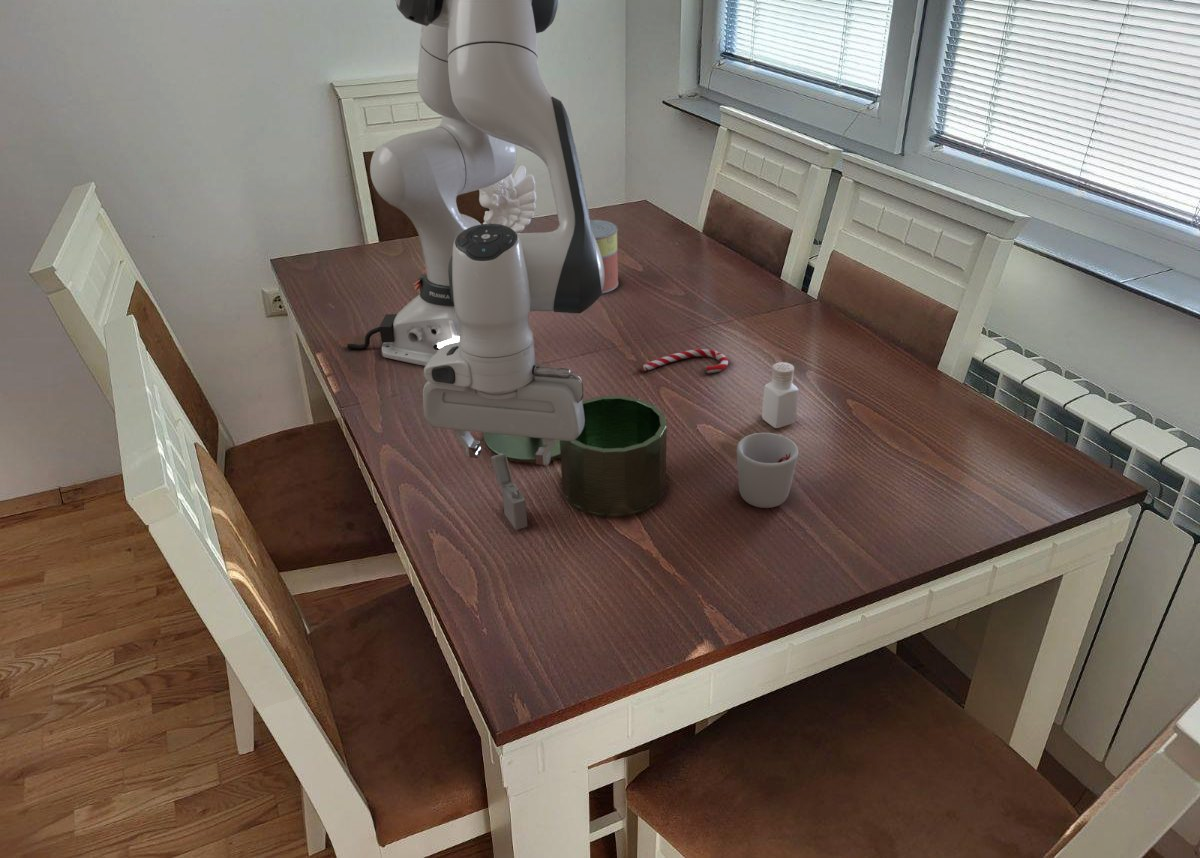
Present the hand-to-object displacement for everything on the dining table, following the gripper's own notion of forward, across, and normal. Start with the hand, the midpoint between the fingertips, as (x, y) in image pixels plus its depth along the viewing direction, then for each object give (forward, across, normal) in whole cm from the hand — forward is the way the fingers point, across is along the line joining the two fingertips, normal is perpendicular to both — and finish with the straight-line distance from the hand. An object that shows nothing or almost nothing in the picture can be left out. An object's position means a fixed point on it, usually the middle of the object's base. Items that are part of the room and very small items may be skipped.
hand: (508, 459), depth 114 cm
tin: (+9, -12, -9) cm, 17 cm away
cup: (+9, -32, -12) cm, 35 cm away
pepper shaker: (+9, -33, -31) cm, 46 cm away
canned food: (+9, +9, -79) cm, 80 cm away
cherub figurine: (+8, +32, -93) cm, 99 cm away
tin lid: (+8, +3, -19) cm, 21 cm away
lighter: (+9, 0, 0) cm, 9 cm away
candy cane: (+9, -16, -46) cm, 49 cm away
